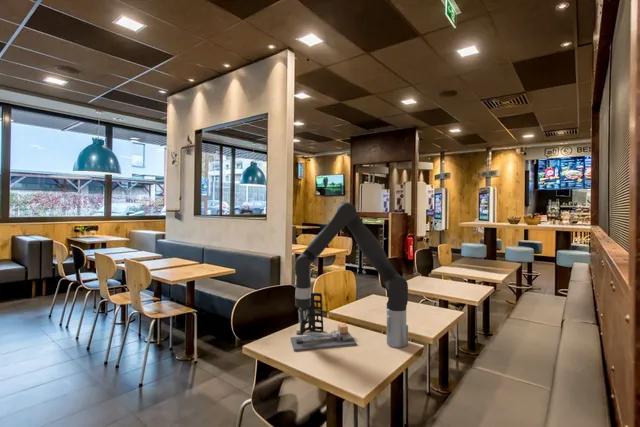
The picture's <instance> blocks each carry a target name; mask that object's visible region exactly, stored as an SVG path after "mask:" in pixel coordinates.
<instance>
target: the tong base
mask: <svg viewBox="0 0 640 427" xmlns="http://www.w3.org/2000/svg"><path fill="white" fill-rule="evenodd" d="M330 333H332V334H333V335H332V337H321V338H310V339H296V343H297V344H301V343H306V342H317V341H327V340H340V338H341V340H342V341H343V342H345V341H353V339H354V337H353V336H352V335H351V333H350V332H349V331H348V333H340V332H339V331H338V329H337V330H331V331H330Z"/></svg>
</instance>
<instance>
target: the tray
mask: <svg viewBox="0 0 640 427" xmlns="http://www.w3.org/2000/svg"><path fill="white" fill-rule="evenodd" d="M321 337H326V336H312V335H298V336H291V337H290V342H291V345H292V348H293V352H301V351H303V352H304V351H313V350H322V349H332V348H343V347H351V346H353V347H354V346H357V345H358V344H357V342H356V340H355V339H354V338H353V341H345V342H343V341H342V340H341V338H340V340H327V341H317V342H306V343H301V344H297V343H296V339H310V338H321Z"/></svg>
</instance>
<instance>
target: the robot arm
mask: <svg viewBox="0 0 640 427" xmlns="http://www.w3.org/2000/svg"><path fill="white" fill-rule="evenodd" d="M345 227H347V229H348V230H349V231H350V233H351V234H352V236H353V239H354V240H355V243H356V244H357V246H358V248H359V250H360V251H361V253H362V254H363V256H364V257H365V259H366V260H367V261H368V262H369V263H370V264H371V266H372V267H373V268H374V269H375V270H376V271H377V272H378V275H379V277H380V278H381V279H382V281H383V283H384V285H385V287H386V289H387V290H388V291H387V292H388V296H387V302H386V344H387V345H388V346H389V347H391V348H397V349H399V348H405V347H407V346H409V325H408V324H407V305H408V303H409V284H408V282H407V279H406V278H404V277H403V276H401V274H399V273H398V271H397V270H396V269H395V267H393V265H392V264H391V262H390V260H389V258H388V256H387V253H386V252H385V250H384V248H383V246H382V245H381V243H380V241H379V240H378V239H377V237H376V236H375V235H374V234H373V232H372V231H371V230H370V229H369V228H368V227H367V226H366V225H365V223H364V222H363V221H362V218H361V217H360V215H359V213H358V211H357V209H356V207H355V205H354V204H352V203H350V202H349V201H348V202H347V201H344V202H341V203H339V205H338V206H337V208H336V212H335V214H334V216H333V217H332V219H331V220H330V222H328V224H327V225H325V227H324V228H323V229H322V230H320V232H318V234H317V235H315V237H314V238H313V239H312V240H311V242H309V244H308V246H307V248H306V249H304V251H303V252H302V253H301V254H300V255H299V256H298V257H297V258H296V260H295V264H294V265H295V268H294V270H295V278H296V279H295V294H294V302H295V303H294V306H295V307H296V308H298V310H297V313H298V320H299V331H300V332H301V333H303V332H306V331H305V328H306V325H307V324H308V323H307V321H308V316H307V314H308V310H307V309H306V308H307V307H310V306H311V305H312V304H311V293H312V290H311V283H312V282H311V280H312V279H311V278H312V277H311V276H310V272H311V271H310V269H311V265H312V264H313V263H314V262H315V260H316V259H317V258H318V257H319V256H320V255H321V254H322V253H323V252H324V251H325V249H326V248H327V247H328V245H330V243H331V242H332V241H333V240H334V238H335V237H336V236H337V235H338V234H339V233H340V232H341V231H342V230H343V229H344V228H345ZM306 323H307V324H306Z"/></svg>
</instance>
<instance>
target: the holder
mask: <svg viewBox="0 0 640 427" xmlns="http://www.w3.org/2000/svg"><path fill="white" fill-rule="evenodd" d="M315 297H319V299H315ZM319 305H320V306H319ZM306 309H307V312H308V313H307V317H308V318H307V323H306V325H307V324H308V326H307V327H305V332H308V331H309V332H318V333H324V316H323V296H322V293H319V292H311V306H310V307H307V308H306ZM316 310H319V311H320V313H318V312H317V313H316ZM319 317H320V318H319ZM316 323H320V325H321V326H318V325H317V326H316Z"/></svg>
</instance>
